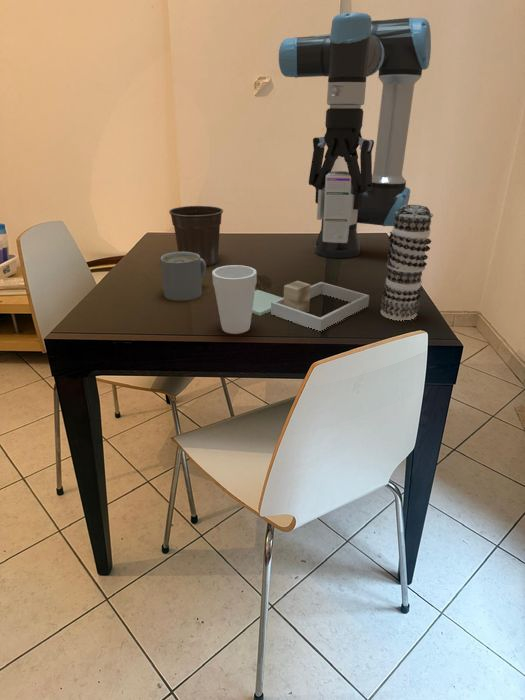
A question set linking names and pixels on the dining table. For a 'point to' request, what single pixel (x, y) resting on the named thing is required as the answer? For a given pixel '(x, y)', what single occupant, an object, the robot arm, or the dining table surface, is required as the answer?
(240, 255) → the dining table surface
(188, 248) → the plant pot
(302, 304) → the beech block
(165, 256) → the coffee mug
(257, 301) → the sage pad
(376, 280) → the dining table surface
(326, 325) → the parts bin
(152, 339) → the dining table surface
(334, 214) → the syrup box
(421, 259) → the decorative candle
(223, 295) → the foam cup
